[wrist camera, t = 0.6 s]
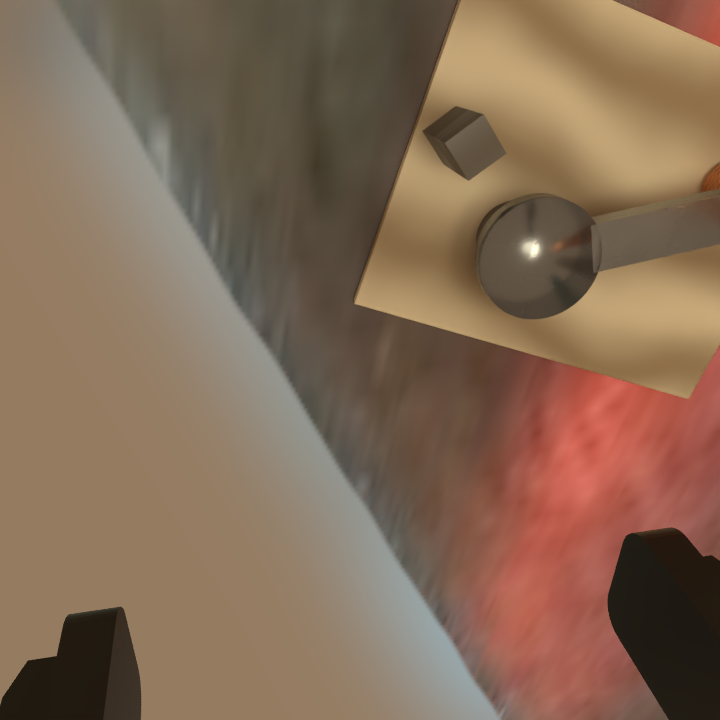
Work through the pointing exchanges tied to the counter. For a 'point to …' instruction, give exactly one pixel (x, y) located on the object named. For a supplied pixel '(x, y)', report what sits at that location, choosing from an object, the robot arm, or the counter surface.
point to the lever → (582, 245)
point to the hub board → (559, 180)
